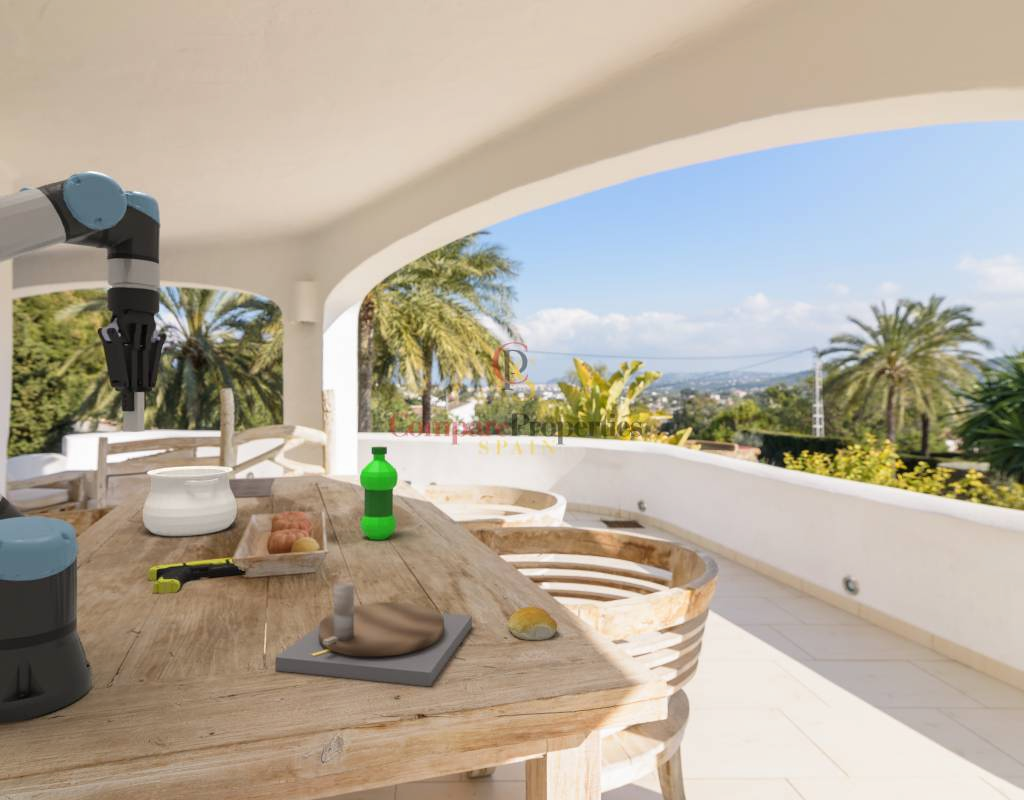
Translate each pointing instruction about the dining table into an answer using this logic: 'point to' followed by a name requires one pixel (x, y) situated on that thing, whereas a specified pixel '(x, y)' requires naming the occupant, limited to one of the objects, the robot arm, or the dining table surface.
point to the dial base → (377, 658)
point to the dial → (378, 626)
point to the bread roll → (532, 624)
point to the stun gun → (189, 573)
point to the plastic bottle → (378, 496)
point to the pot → (189, 501)
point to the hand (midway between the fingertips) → (133, 431)
